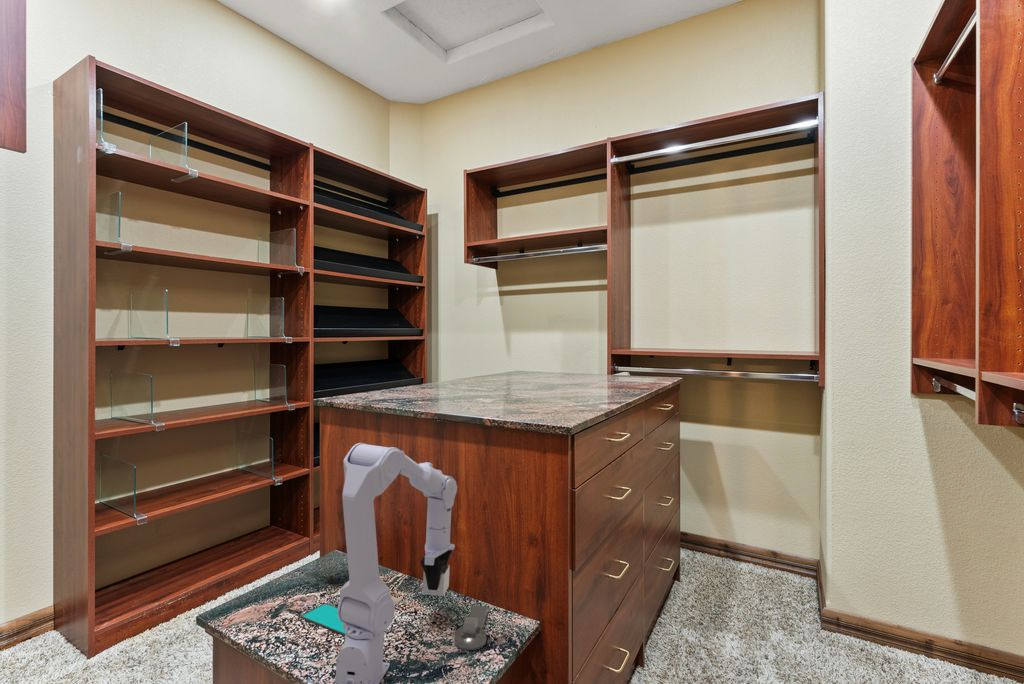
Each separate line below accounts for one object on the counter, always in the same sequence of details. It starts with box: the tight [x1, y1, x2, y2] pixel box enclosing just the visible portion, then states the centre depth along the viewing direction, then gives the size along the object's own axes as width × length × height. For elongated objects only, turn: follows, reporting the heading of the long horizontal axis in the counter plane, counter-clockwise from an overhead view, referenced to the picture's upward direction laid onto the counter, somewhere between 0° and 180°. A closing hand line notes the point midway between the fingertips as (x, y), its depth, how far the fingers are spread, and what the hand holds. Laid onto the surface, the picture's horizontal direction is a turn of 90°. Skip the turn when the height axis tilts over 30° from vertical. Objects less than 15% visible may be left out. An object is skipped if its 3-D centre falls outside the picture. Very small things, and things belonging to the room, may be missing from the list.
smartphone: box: [299, 602, 346, 637], centre depth 110 cm, size 7×1×15 cm
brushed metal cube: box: [422, 564, 451, 597], centre depth 112 cm, size 5×5×5 cm
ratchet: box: [453, 605, 489, 651], centre depth 108 cm, size 16×7×4 cm, turn 174°
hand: (436, 583), depth 112 cm, fingers closed on brushed metal cube, 5 cm apart
